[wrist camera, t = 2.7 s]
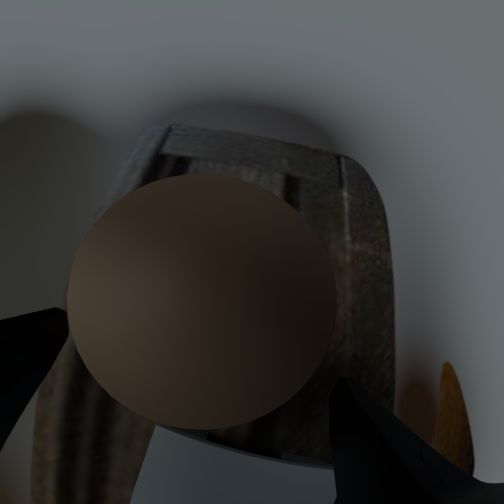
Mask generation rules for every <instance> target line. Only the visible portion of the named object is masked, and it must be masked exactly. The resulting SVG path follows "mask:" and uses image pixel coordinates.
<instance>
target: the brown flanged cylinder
mask: <svg viewBox="0 0 504 504" xmlns="http://www.w3.org/2000/svg"><path fill="white" fill-rule="evenodd" d="M67 303H68V317H69V323H70V328H71V332H72V336H73V339H74V341H75V344H76V347H77V350H78V352H79V354H80V356H81V358H82V360H83V361H84V363H85V365H86V367H87V368H88V370H89V371H90V373H91V374H92V375H93V377H94V378H95V379H96V381H97V382H98V383H99V384H100V385H101V386H102V387H103V388H104V389H105V390H106V391H107V392H108V393H109V394H110V395H111V396H112V397H113V398H114V399H116V400H117V401H118V402H120V403H121V404H122V405H124V406H125V407H127V408H128V409H130V410H132V411H134V412H135V413H137V414H139V415H141V416H143V417H145V418H147V419H150V420H153V421H155V422H158V423H161V424H164V425H168V426H173V427H178V428H184V429H198V430H210V429H220V428H228V427H232V426H236V425H240V424H244V423H247V422H250V421H252V420H255V419H257V418H259V417H262V416H264V415H266V414H268V413H270V412H271V411H273V410H275V409H276V408H278V407H279V406H281V405H283V404H284V403H285V402H287V401H288V400H289V399H290V398H291V397H293V396H294V395H295V394H296V393H297V392H298V391H299V390H300V389H301V388H302V387H303V386H304V385H305V384H306V382H307V381H308V380H309V379H310V378H311V377H312V375H313V374H314V372H315V371H316V369H317V368H318V366H319V364H320V363H321V361H322V360H323V357H324V355H325V353H326V351H327V348H328V346H329V344H330V341H331V337H332V334H333V330H334V326H335V319H336V311H337V292H336V285H335V278H334V274H333V270H332V267H331V263H330V260H329V258H328V256H327V253H326V251H325V249H324V246H323V245H322V243H321V241H320V240H319V238H318V236H317V235H316V233H315V232H314V230H313V229H312V228H311V226H310V225H309V224H308V222H307V221H306V220H305V219H304V218H303V217H302V216H301V215H300V214H299V213H298V212H297V211H296V210H295V209H294V208H293V207H291V206H290V205H289V204H288V203H286V202H285V201H284V200H283V199H281V198H279V197H278V196H276V195H275V194H273V193H272V192H270V191H268V190H266V189H264V188H262V187H260V186H258V185H255V184H252V183H250V182H247V181H244V180H241V179H237V178H233V177H229V176H222V175H215V174H189V175H180V176H174V177H169V178H165V179H162V180H159V181H155V182H153V183H150V184H148V185H145V186H143V187H141V188H139V189H137V190H135V191H133V192H131V193H129V194H128V195H126V196H125V197H123V198H122V199H120V200H119V201H118V202H116V203H115V204H114V205H113V206H112V207H110V208H109V209H108V210H107V211H106V212H105V213H104V214H103V215H102V216H101V217H100V218H99V219H98V220H97V222H96V223H95V224H94V225H93V227H92V228H91V229H90V231H89V232H88V234H87V235H86V237H85V238H84V240H83V242H82V244H81V246H80V248H79V250H78V252H77V255H76V257H75V260H74V263H73V266H72V270H71V274H70V279H69V284H68V297H67Z"/></svg>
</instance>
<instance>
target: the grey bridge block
mask: <svg viewBox="0 0 504 504" xmlns="http://www.w3.org/2000/svg"><path fill="white" fill-rule="evenodd" d="M207 435H208V432H205V431H202V430H198V429H184V428H178V427H173V426H168V425H164V424H161V423H159V424H157V425H156V427H155V430H154V433H153V436H152V438H151V441H150V444H149V447H148V450H147V453H146V456H145V459H144V462H143V465H142V468H141V471H140V474H139V477H138V480H137V483H136V486H135V489H134V492H133V495H132V498H131V501H130V504H334V502H335V499H336V497H337V494H336V485H335V477H334V469H333V465H331V464H329V463H327V462H325V461H323V460H321V459H319V458H314V457H307V456H301V455H295V454H290V453H285V452H282V455H281V458H280V459H276V458H271V457H266V456H262V455H258V454H253V453H249V452H245V451H241V450H238V449H234V448H230V447H227V446H223V445H220V444H217V443H214V442H210V441H207Z"/></svg>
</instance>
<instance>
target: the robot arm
mask: <svg viewBox="0 0 504 504" xmlns="http://www.w3.org/2000/svg"><path fill="white" fill-rule="evenodd" d="M68 335H69V328H68V319H67V313H66V311H64V310H62V309H60V308H57V307H54V308H50V309H45V310H41V311H37V312H33V313H28V314H24V315H20V316H16V317H11V318H7V319H3V320H0V451H1V449H2V447H3V446H4V444H5V442H6V440H7V438H8V436H9V435H10V433H11V431H12V429H13V428H14V426H15V424H16V422H17V421H18V419H19V417H20V416H21V414H22V412H23V411H24V409H25V408H26V406H27V404H28V403H29V401H30V399H31V398H32V396H33V395H34V393H35V392H36V390H37V389H38V387H39V386H40V384H41V383H42V381H43V380H44V378H45V377H46V375H47V374H48V372H49V370H50V369H51V367H52V365H53V363H54V361H55V360H56V358H57V356H58V354H59V352H60V350H61V349H62V347H63V345H64V343H65V342H66V340H67V338H68ZM329 428H330V446H331V454H332V461H333V469H334V477H335V485H336V494H337V503H338V504H504V483H497V484H494V483H486V482H482V481H479V480H478V479H476V478H474V477H473V476H471V475H470V474H468V473H467V472H465V471H464V470H462V469H461V468H459V467H458V466H456V465H455V464H453V463H452V462H450V461H449V460H448V459H446V458H445V457H443V456H442V455H441V454H439V453H438V452H437V451H436V450H434V449H433V448H432V447H431V446H429V445H428V444H427V443H426V442H425V441H423V440H422V439H421V438H420V437H419V436H418V435H417V434H415V433H414V432H413V431H412V430H411V429H410V428H408V427H407V426H406V425H405V424H404V423H403V422H401V421H400V420H399V419H398V418H397V417H396V416H395V415H393V414H392V413H391V412H390V411H389V410H388V409H387V408H385V407H384V406H383V405H382V404H381V403H380V402H379V401H378V400H376V399H375V398H374V397H373V396H372V395H371V394H370V393H369V392H367V391H366V390H365V389H364V388H363V387H362V386H361V385H360V384H359V383H357V382H356V381H355V380H354V379H353V378H348V377H341V378H339V379H338V381H337V383H336V385H335V387H334V389H333V391H332V392H331V394H330V397H329Z"/></svg>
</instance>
